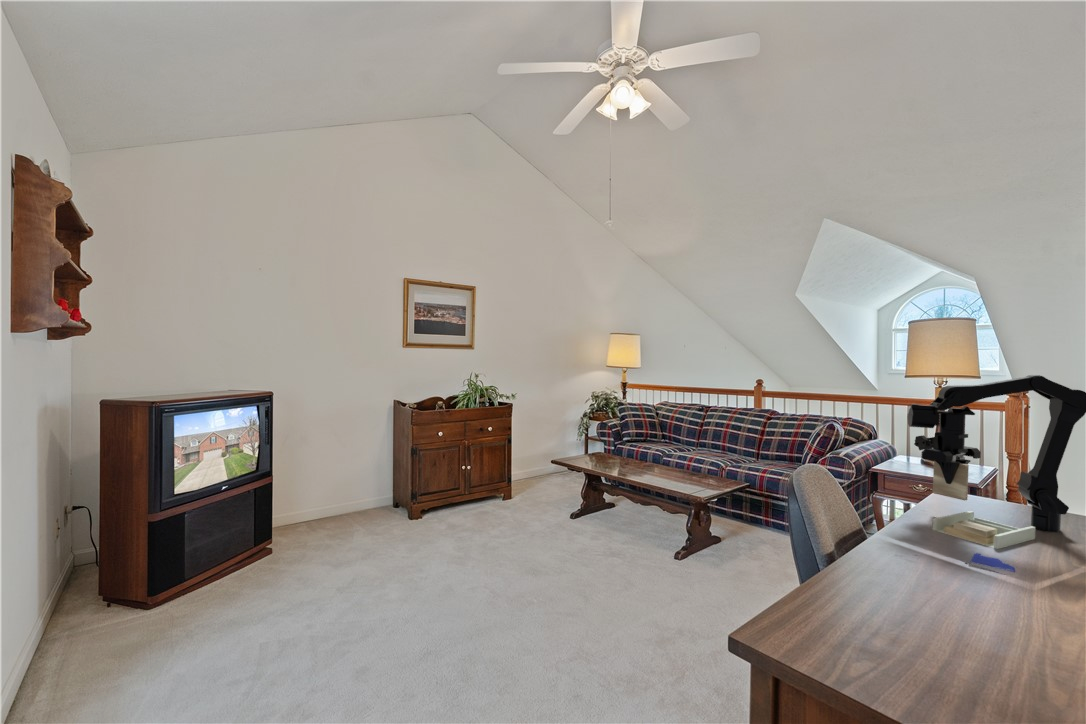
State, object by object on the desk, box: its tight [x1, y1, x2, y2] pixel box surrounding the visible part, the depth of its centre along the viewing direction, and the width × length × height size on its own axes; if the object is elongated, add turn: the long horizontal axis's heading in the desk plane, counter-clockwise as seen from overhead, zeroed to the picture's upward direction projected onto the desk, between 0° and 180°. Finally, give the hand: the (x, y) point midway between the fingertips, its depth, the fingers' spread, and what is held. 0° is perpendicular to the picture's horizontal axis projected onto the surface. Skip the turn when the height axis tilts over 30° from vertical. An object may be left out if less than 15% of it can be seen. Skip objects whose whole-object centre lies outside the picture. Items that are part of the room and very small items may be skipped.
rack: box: [932, 510, 1036, 550], centre depth 132 cm, size 18×14×4 cm
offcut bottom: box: [943, 525, 994, 546], centre depth 130 cm, size 6×9×2 cm, turn 25°
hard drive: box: [968, 552, 1016, 576], centre depth 116 cm, size 2×8×12 cm
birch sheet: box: [932, 461, 970, 501], centre depth 146 cm, size 1×8×10 cm, turn 25°
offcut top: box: [954, 520, 997, 537], centre depth 130 cm, size 5×7×2 cm
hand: (950, 483), depth 146 cm, fingers closed on birch sheet, 1 cm apart
